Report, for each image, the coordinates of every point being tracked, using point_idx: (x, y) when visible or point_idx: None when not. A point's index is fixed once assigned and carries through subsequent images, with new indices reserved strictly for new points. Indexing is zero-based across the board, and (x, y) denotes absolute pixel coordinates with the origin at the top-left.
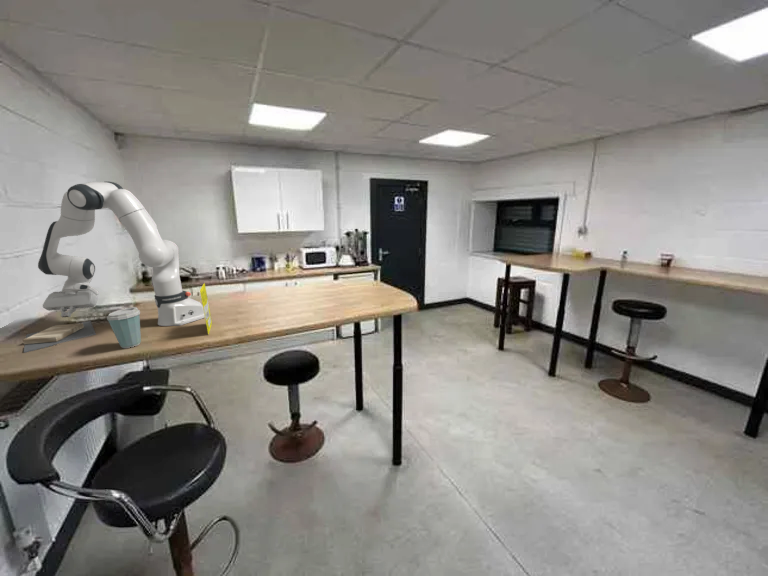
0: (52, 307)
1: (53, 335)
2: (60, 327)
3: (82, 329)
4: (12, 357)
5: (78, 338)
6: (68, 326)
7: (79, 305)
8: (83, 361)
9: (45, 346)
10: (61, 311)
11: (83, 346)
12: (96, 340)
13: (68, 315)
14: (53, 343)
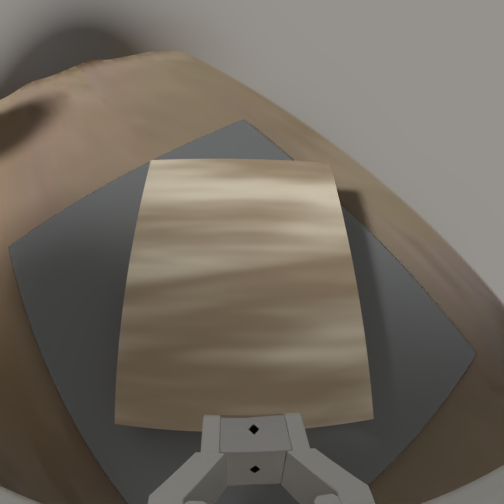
0: (490, 473)
1: (180, 183)
2: (261, 356)
3: None
4: (254, 102)
5: (68, 209)
6: (198, 366)
7: (30, 502)
8: (31, 84)
9: (182, 146)
10: (322, 461)
11: (38, 146)
12: (6, 191)
13: (203, 424)
14: None
